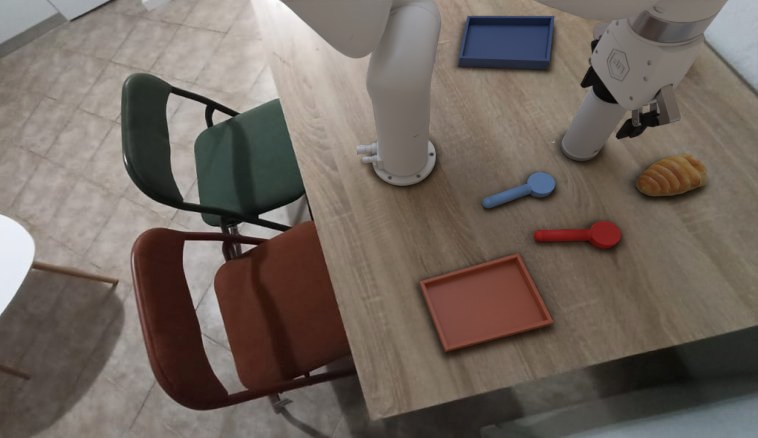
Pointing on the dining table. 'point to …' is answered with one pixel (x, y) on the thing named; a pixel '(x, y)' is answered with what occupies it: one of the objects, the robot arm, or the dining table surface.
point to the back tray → (507, 42)
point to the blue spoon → (524, 190)
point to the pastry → (672, 176)
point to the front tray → (484, 303)
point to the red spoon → (584, 234)
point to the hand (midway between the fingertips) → (608, 108)
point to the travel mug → (592, 124)
